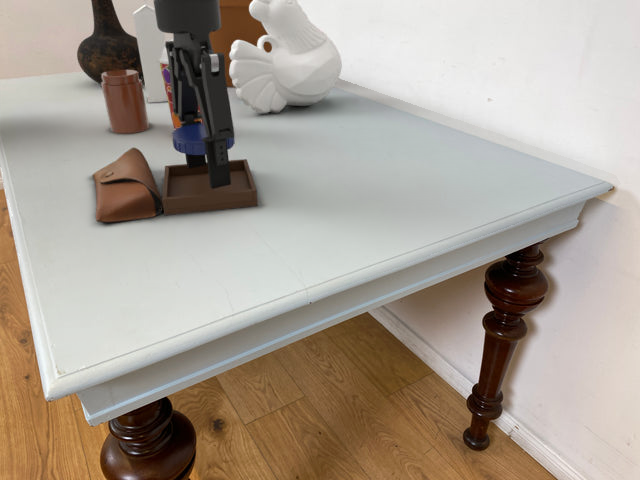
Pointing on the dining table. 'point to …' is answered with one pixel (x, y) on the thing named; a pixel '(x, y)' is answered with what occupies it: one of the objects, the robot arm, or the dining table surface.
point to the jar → (124, 101)
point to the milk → (150, 52)
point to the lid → (193, 139)
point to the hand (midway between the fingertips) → (208, 175)
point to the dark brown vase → (108, 45)
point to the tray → (206, 189)
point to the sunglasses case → (126, 190)
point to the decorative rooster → (284, 60)
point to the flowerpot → (236, 30)
